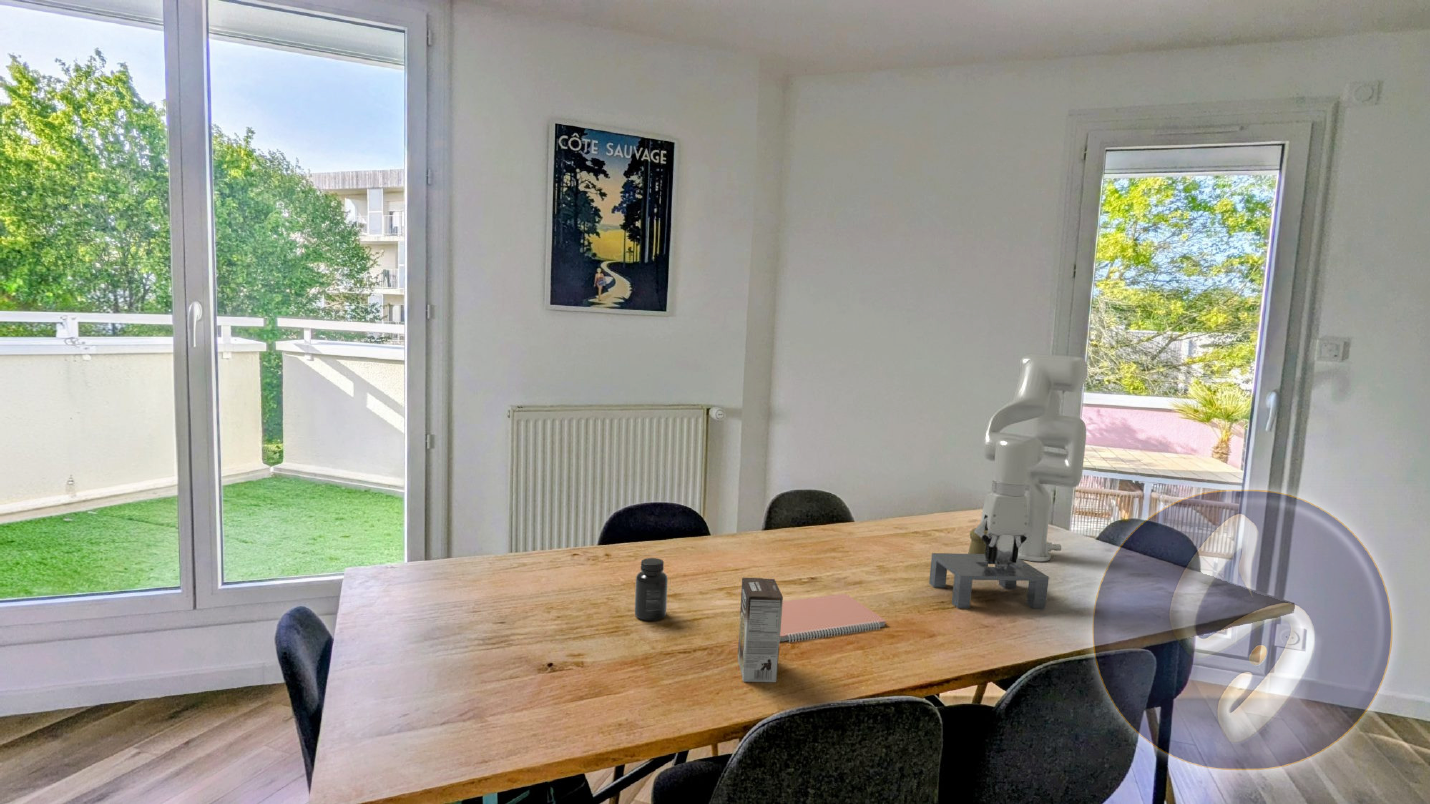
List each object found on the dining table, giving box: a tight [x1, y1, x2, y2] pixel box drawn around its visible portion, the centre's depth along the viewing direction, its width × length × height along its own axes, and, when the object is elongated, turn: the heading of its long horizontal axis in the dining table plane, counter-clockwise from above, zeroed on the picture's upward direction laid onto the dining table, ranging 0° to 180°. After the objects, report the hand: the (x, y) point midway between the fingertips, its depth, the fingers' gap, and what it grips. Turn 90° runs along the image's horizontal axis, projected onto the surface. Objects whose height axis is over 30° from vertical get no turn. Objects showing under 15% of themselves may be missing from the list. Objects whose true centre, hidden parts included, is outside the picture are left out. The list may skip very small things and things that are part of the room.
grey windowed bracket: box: [928, 552, 1050, 610], centre depth 173 cm, size 22×16×8 cm
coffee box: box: [737, 577, 784, 683], centre depth 129 cm, size 9×6×16 cm
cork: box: [967, 527, 989, 567], centre depth 194 cm, size 6×6×11 cm
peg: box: [994, 535, 1015, 582], centre depth 173 cm, size 5×5×12 cm
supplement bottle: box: [634, 557, 668, 622], centre depth 150 cm, size 7×7×12 cm
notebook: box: [780, 593, 887, 643], centre depth 154 cm, size 27×17×2 cm, turn 114°
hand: (1000, 560), depth 173 cm, fingers closed on peg, 5 cm apart
